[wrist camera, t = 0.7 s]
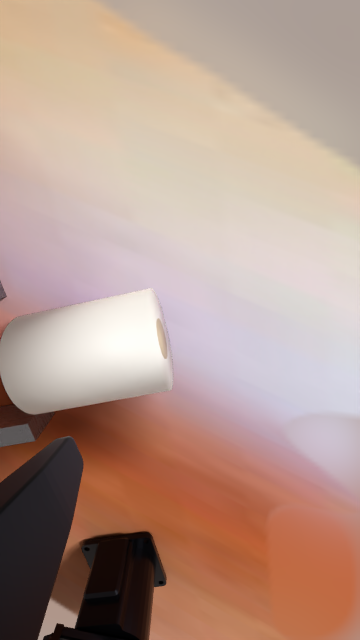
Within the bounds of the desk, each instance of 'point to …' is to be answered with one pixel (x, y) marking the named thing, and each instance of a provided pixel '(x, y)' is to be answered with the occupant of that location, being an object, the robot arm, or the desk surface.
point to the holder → (20, 420)
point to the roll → (87, 353)
